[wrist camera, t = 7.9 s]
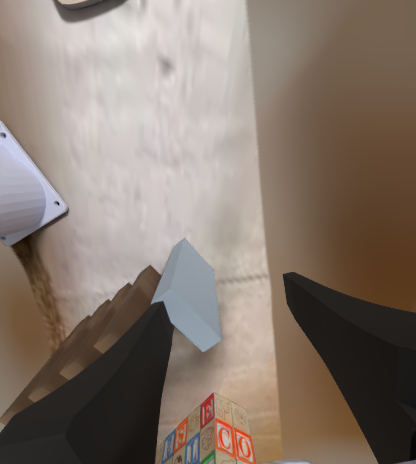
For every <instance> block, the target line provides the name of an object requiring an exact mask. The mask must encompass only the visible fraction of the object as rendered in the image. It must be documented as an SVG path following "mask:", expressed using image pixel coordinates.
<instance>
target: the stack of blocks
mask: <svg viewBox="0 0 416 464" xmlns="http://www.w3.org/2000/svg"><path fill="white" fill-rule="evenodd" d="M155 464H256V460H255V454H254V449H253V444H252V438H251V433H250V428H249V423H248V418H247V413H246V410H245V409H243V408H241V407H240V406H238V405H236V404H234V403H232V402H230V401H229V400H227V399H225V398H223V397H222V396H220V395H218V394H216V393H213V394H212V395H211V396H210V397H209V398H208V399H207V400H206V401H205V402H204V403H203V404H202V405H200V406H199V407H198V408H197V409H196V410H194V411H193V412H192V413H191V414H190V416H189V417H187V418H186V419H185V420H184V421H183V422H182V423H181V424H180V425H179V426H178V427H177V428H176V429H175V430H174V431H173V432H172V433H171V434H170V435H169V436H168V437H167V438H166V439H165V440H164V441H163V442H162V443H161V444H160V445H159V446H158V447H156V459H155Z"/></svg>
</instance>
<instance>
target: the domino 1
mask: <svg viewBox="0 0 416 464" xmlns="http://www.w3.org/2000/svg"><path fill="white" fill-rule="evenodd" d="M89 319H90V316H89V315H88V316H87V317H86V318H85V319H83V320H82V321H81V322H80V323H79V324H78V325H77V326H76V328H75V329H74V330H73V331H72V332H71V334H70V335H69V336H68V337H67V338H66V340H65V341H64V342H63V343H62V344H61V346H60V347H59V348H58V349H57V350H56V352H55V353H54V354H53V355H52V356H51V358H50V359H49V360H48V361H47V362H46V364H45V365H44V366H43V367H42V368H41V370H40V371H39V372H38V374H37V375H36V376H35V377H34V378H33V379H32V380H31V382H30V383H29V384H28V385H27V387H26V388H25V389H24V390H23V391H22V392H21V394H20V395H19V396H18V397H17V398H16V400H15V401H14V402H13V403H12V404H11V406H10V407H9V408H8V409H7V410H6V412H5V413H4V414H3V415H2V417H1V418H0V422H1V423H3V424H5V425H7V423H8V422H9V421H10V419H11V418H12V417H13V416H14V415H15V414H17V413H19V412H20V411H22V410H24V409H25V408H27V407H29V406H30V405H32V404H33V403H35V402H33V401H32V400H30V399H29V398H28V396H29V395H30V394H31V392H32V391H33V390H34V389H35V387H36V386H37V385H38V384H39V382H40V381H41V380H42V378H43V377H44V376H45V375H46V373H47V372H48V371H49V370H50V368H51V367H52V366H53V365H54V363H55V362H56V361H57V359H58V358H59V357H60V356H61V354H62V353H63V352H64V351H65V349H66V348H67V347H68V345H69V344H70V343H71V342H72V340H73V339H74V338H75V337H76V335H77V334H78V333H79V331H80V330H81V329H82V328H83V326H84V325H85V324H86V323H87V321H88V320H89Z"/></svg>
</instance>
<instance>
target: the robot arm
mask: <svg viewBox="0 0 416 464" xmlns="http://www.w3.org/2000/svg"><path fill="white" fill-rule="evenodd" d="M5 134H6V138H5V137H4V135H5ZM57 201H58V202H59V204H60V205H57ZM67 210H68V207H67V205H66V204H65V202H64V201H63V200H62V199H61V197H60V196H59V195H58V193H57V192H56V191H55V190H54V188H53V187H52V186H51V184H50V183H49V182H48V181H47V179H46V178H45V177H44V175H43V174H42V173H41V171H40V170H39V169H38V168H37V166H36V165H35V164H34V162H33V161H32V160H31V159H30V157H29V156H28V155H27V153H26V152H25V151H24V150H23V148H22V147H21V146H20V144H19V143H18V142H17V140H16V139H15V138H14V137H13V135H12V134H11V133H10V131H9V130H8V129H7V128H6V126H5V125H4V124H3V122H1V121H0V240H1V242H2V243H3V244H4V245H6V246H11V245H13V244H15V243H17V242H18V241H20V240H21V239H23V238H25V237H26V236H28V235H29V234H31V233H33V232H34V231H36V230H38V229H39V228H41V227H42V226H44V225H46V224H47V223H49V222H50V221H52V220H54V219H55V218H57V217H58V216H60V215H62V214H63V213H65V212H66V211H67ZM4 236H5V237H6V238H5V237H4ZM283 279H284V286H285V293H286V299H287V305H288V306H289V309H290V311H291V312H292V314H293V316H294V318H295V320H296V321H297V323H298V324H299V326H300V327H301V329H302V330H303V332H304V333H305V334H306V336H307V337H308V339H309V340H310V342H311V343H312V345H313V346H314V347H315V349H316V350H317V352H318V353H319V354H320V356H321V358H322V359H323V361H324V363H325V364H326V366H327V368H328V369H329V371H330V373H331V375H332V376H333V378H334V380H335V382H336V383H337V385H338V387H339V389H340V390H341V393H342V394H343V396H344V398H345V400H346V401H347V403H348V405H349V407H350V409H351V411H352V413H353V415H354V417H355V418H356V420H357V422H358V424H359V426H360V428H361V430H362V432H363V434H364V436H365V438H366V439H367V441H368V443H369V445H370V447H371V449H372V451H373V453H374V455H375V457H376V459H377V461H378V463H379V464H416V313H414V312H409V311H403V310H399V309H394V308H390V307H386V306H382V305H378V304H374V303H371V302H367V301H364V300H361V299H358V298H354V297H351V296H349V295H346V294H343V293H340V292H338V291H335V290H333V289H330V288H328V287H325V286H323V285H321V284H319V283H316V282H314V281H312V280H310V279H308V278H306V277H304V276H302V275H299V274H297V273H295V272H290V273H286V274H283ZM172 335H173V327H172V324H171V321H170V318H169V316H168V313H167V310H166V307H165V304H164V301H159V302H155V303H153V304H152V305H151V306H150V307H149V308H148V309H147V310H146V311H145V312H144V313H143V314H142V316H141V317H140V318H139V319H138V320H137V321H136V322H135V323H134V324H133V325H132V327H131V328H130V329H129V330H128V331H127V332H126V333H125V334H124V335H123V336H122V337H121V338H120V339H119V340H118V341H117V342H116V343H115V344H114V345H113V346H111V347H110V348H109V349H108V350H107V351H106V352H105V353H104V354H102V355H101V356H100V357H99V358H98V359H97V360H95V361H94V362H93V363H91V364H90V365H89V366H88V367H86V368H85V369H84V370H82V371H81V372H80V373H79V374H77V375H76V376H74V377H73V378H72V379H70V380H69V381H67V382H66V383H65V384H63V385H62V386H60V387H59V388H57V389H56V390H54V391H53V392H51V393H50V394H48V395H47V396H45V397H43V398H42V399H40V400H38V401H37V402H35V403H33V404H32V405H30V406H29V407H27V408H25V409H24V410H22V411H20V412H19V413H17V414H15V415H14V416H13V417H12V418H11V419H10V421H9V422H8V423H7V425H6V426H5V427H4V429H3V430H2V431H1V432H0V464H155V459H156V446H157V435H158V424H159V415H160V406H161V397H162V391H163V386H164V381H165V376H166V371H167V366H168V361H169V356H170V351H171V346H172ZM262 464H315V463H312V462H310V461H307V460H305V459H283V460H278V461H273V462H267V463H262Z"/></svg>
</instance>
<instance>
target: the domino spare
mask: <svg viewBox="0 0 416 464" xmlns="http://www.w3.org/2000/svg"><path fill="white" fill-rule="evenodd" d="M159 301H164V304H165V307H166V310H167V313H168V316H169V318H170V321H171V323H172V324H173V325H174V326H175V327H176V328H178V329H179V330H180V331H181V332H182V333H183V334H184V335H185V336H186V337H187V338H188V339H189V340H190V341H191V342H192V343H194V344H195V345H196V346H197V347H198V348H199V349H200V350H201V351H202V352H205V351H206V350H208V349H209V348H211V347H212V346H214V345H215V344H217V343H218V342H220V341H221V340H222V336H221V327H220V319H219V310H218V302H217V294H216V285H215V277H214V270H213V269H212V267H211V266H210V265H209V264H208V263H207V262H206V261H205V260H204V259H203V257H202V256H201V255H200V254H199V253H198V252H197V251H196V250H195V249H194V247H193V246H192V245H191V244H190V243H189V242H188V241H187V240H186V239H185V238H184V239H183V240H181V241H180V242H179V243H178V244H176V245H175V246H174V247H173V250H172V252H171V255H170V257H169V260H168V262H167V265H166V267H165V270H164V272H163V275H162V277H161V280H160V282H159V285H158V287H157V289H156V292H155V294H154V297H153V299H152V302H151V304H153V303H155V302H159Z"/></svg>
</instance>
